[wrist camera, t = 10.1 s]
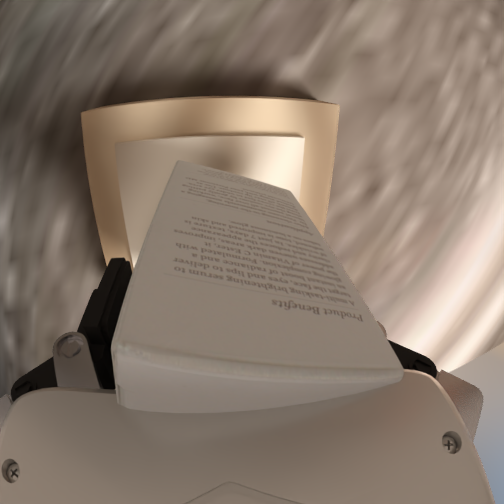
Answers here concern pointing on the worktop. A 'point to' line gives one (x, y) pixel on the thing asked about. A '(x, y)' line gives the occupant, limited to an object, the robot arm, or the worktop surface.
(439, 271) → the worktop surface
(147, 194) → the maple plinth
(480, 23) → the worktop surface
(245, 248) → the small box
